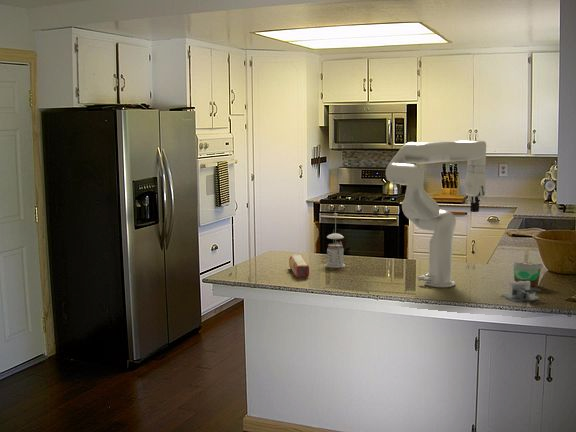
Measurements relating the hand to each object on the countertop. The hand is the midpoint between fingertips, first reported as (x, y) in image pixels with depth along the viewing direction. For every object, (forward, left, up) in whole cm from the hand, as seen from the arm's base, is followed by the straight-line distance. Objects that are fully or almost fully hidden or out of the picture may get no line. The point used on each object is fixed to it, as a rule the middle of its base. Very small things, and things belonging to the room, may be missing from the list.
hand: (474, 211), depth 309 cm
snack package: (-71, +28, -30) cm, 82 cm away
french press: (-50, +38, -29) cm, 69 cm away
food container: (+13, -21, -29) cm, 38 cm away
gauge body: (0, -36, -29) cm, 46 cm away
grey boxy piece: (+1, -40, -28) cm, 48 cm away
